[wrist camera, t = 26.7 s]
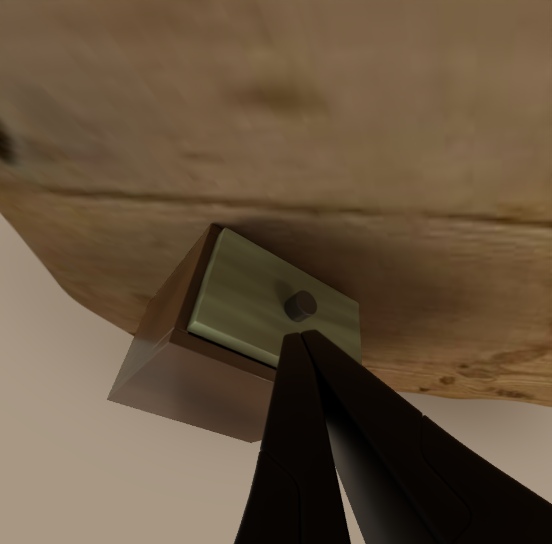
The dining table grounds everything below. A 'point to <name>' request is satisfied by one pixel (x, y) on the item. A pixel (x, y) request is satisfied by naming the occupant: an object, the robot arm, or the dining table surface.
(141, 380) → the cabinet
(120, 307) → the dining table surface
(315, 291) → the drawer
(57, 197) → the dining table surface
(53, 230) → the dining table surface
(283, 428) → the robot arm
